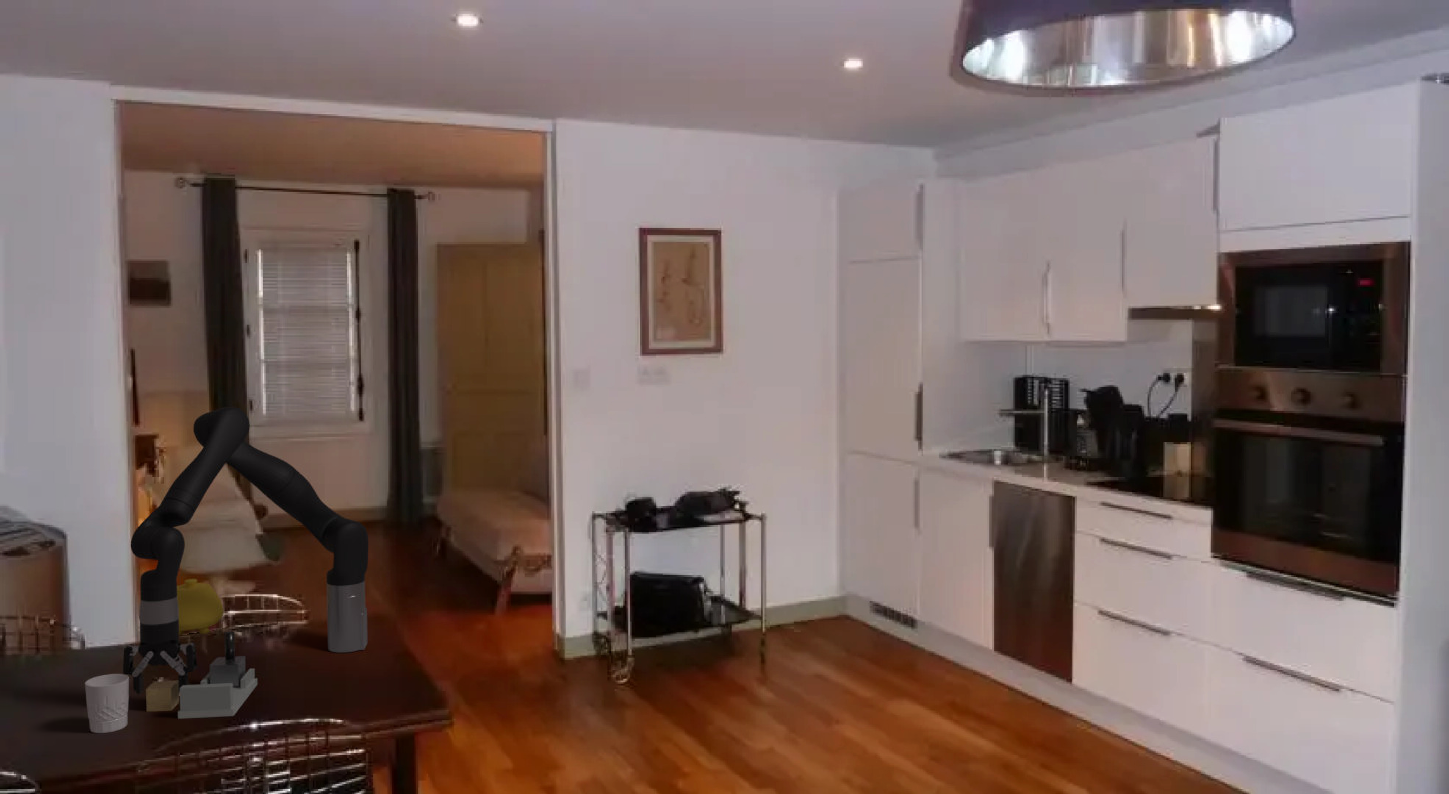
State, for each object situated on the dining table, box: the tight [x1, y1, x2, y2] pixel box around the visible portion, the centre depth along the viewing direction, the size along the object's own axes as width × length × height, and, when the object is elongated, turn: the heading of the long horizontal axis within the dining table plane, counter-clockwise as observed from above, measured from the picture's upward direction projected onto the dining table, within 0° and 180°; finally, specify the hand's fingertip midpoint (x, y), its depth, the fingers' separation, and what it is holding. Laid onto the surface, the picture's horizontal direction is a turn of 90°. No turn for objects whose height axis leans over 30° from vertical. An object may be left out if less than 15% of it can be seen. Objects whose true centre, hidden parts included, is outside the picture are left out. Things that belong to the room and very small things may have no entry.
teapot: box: [140, 578, 225, 636], centre depth 294 cm, size 20×16×14 cm
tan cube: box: [145, 679, 180, 712], centre depth 238 cm, size 5×5×5 cm
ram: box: [209, 630, 247, 686], centre depth 248 cm, size 6×6×11 cm
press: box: [177, 668, 258, 720], centre depth 242 cm, size 21×11×6 cm, turn 9°
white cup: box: [84, 673, 130, 734], centre depth 226 cm, size 8×8×10 cm
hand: (160, 691), depth 238 cm, fingers open, 8 cm apart
